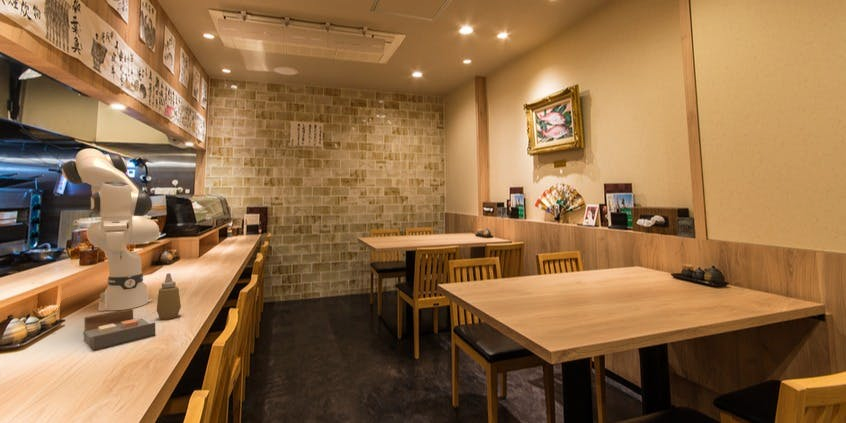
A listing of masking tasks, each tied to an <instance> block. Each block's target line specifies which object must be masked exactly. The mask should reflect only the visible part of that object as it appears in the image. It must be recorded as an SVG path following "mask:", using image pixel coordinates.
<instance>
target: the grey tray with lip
mask: <svg viewBox="0 0 846 423" xmlns="http://www.w3.org/2000/svg"><path fill="white" fill-rule="evenodd" d="M136 320H137V321H138V326H133V327H129V328H123V327H121V323H120V324H116V326H117V330H116V331H111V332H107V333H102V334H101V333H100V332H99V331H98V328H97V329H92V330H88V331H85V330H84V331H83V340H84V342H85V343H86V344H87V345H88V346H89V347H90V348H91V350H92V351H94V352H96V351H100V350H103V349H108V348H113V347H115V346H120V345H124V344H127V343H131V342H135V341H139V340H144V339H148V338H151V337H155V336H156V322H148V321H146V320H145V319H143V318H139V319H136Z"/></svg>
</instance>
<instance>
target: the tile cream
mask: <svg viewBox="0 0 846 423" xmlns="http://www.w3.org/2000/svg"><path fill="white" fill-rule="evenodd" d="M116 330H117V326H116V325H115V324H109V325H104V326H99V327H98V331H99V332H100V333H101V334H102V333H107V332H111V331H116Z"/></svg>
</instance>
